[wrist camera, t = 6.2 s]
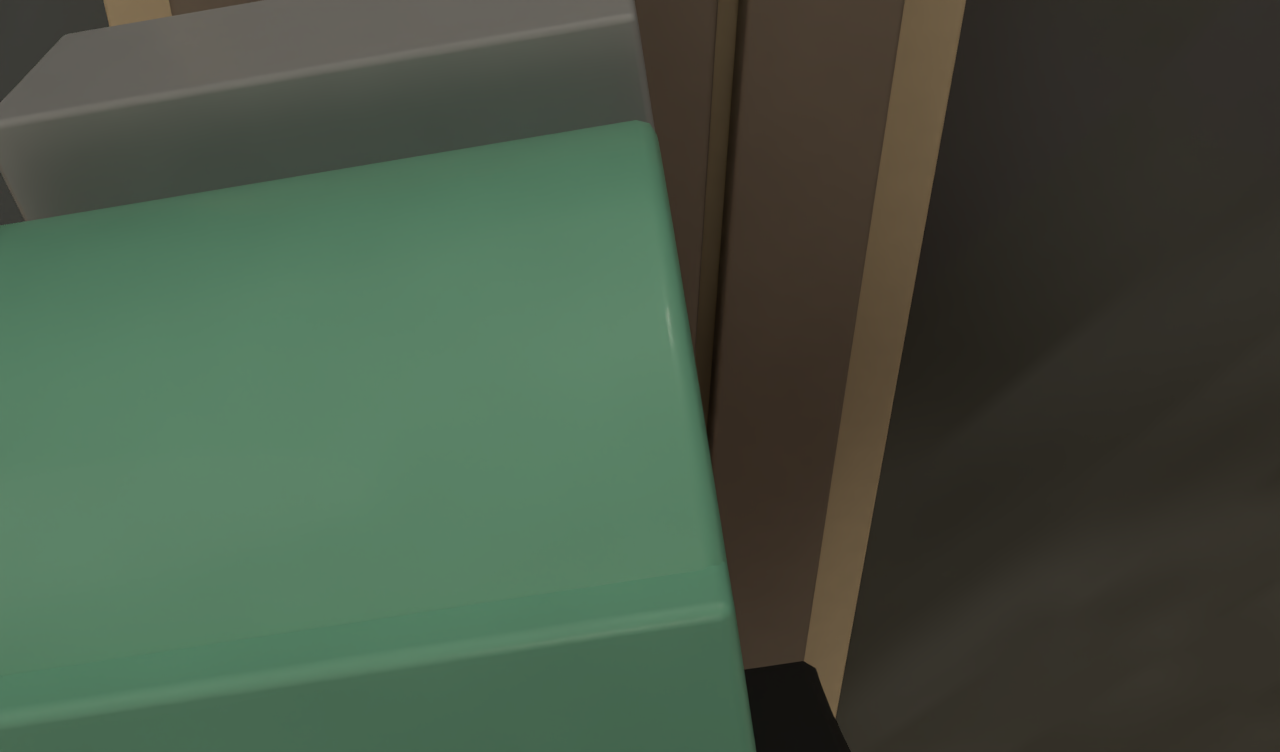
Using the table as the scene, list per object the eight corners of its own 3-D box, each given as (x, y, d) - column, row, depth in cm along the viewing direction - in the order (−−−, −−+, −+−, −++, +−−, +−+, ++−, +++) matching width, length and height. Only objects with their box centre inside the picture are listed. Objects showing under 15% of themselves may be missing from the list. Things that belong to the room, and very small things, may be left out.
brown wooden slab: (1008, -479, 12) (1081, -478, 11) (805, 754, 24) (825, 852, 22) (39, -513, 12) (-48, -516, 10) (305, 770, 23) (285, 872, 21)
